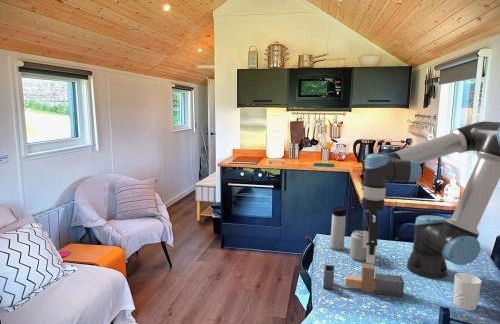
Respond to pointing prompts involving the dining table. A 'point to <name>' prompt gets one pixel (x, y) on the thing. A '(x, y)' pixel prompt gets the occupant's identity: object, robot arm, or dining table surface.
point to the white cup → (466, 291)
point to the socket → (328, 277)
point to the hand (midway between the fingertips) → (368, 255)
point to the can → (357, 246)
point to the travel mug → (338, 228)
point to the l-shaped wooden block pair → (363, 279)
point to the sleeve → (389, 285)
